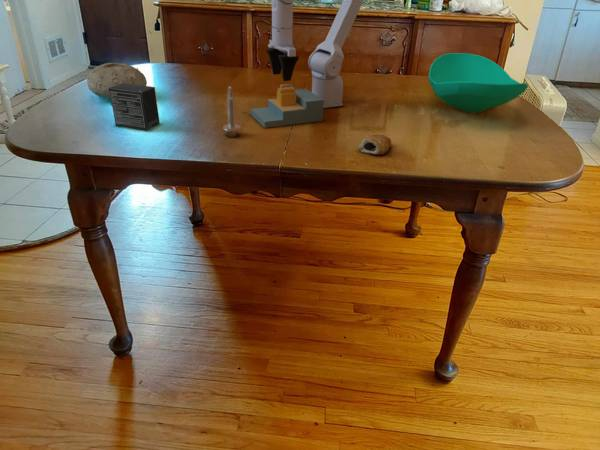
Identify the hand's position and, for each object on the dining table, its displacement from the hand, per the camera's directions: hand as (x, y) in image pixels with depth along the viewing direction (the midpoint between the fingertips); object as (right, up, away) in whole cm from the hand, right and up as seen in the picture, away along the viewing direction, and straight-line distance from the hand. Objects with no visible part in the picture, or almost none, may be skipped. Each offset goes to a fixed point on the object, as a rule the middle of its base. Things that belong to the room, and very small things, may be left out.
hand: (281, 77), depth 133 cm
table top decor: (+60, -6, +13) cm, 62 cm away
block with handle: (+1, -8, -1) cm, 8 cm away
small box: (-39, -16, -7) cm, 43 cm away
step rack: (+1, -12, +1) cm, 12 cm away
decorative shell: (-53, -2, +13) cm, 54 cm away
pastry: (+24, -24, -17) cm, 39 cm away
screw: (-13, -19, -12) cm, 26 cm away
